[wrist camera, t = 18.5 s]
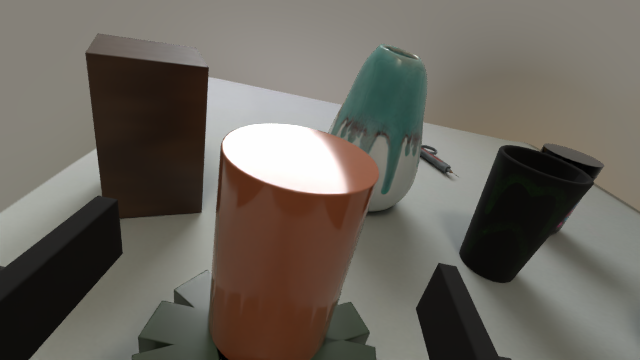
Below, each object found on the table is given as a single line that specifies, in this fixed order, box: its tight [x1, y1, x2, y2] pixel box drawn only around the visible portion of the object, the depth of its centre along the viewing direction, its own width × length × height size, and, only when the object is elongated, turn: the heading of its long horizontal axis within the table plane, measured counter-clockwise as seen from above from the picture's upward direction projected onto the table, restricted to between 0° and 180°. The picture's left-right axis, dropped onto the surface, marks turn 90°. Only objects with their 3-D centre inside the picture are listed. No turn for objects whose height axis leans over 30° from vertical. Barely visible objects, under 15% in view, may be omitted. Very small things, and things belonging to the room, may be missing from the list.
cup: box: [460, 145, 594, 283], centre depth 32 cm, size 8×8×12 cm
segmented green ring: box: [132, 270, 376, 360], centre depth 19 cm, size 13×13×3 cm
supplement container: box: [540, 144, 604, 234], centre depth 44 cm, size 7×7×10 cm
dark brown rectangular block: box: [85, 34, 209, 218], centre depth 30 cm, size 8×8×14 cm
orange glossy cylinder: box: [208, 124, 379, 360], centre depth 17 cm, size 7×7×11 cm
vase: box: [328, 44, 427, 211], centre depth 38 cm, size 12×12×18 cm
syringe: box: [420, 145, 457, 176], centre depth 59 cm, size 8×18×2 cm, turn 23°
